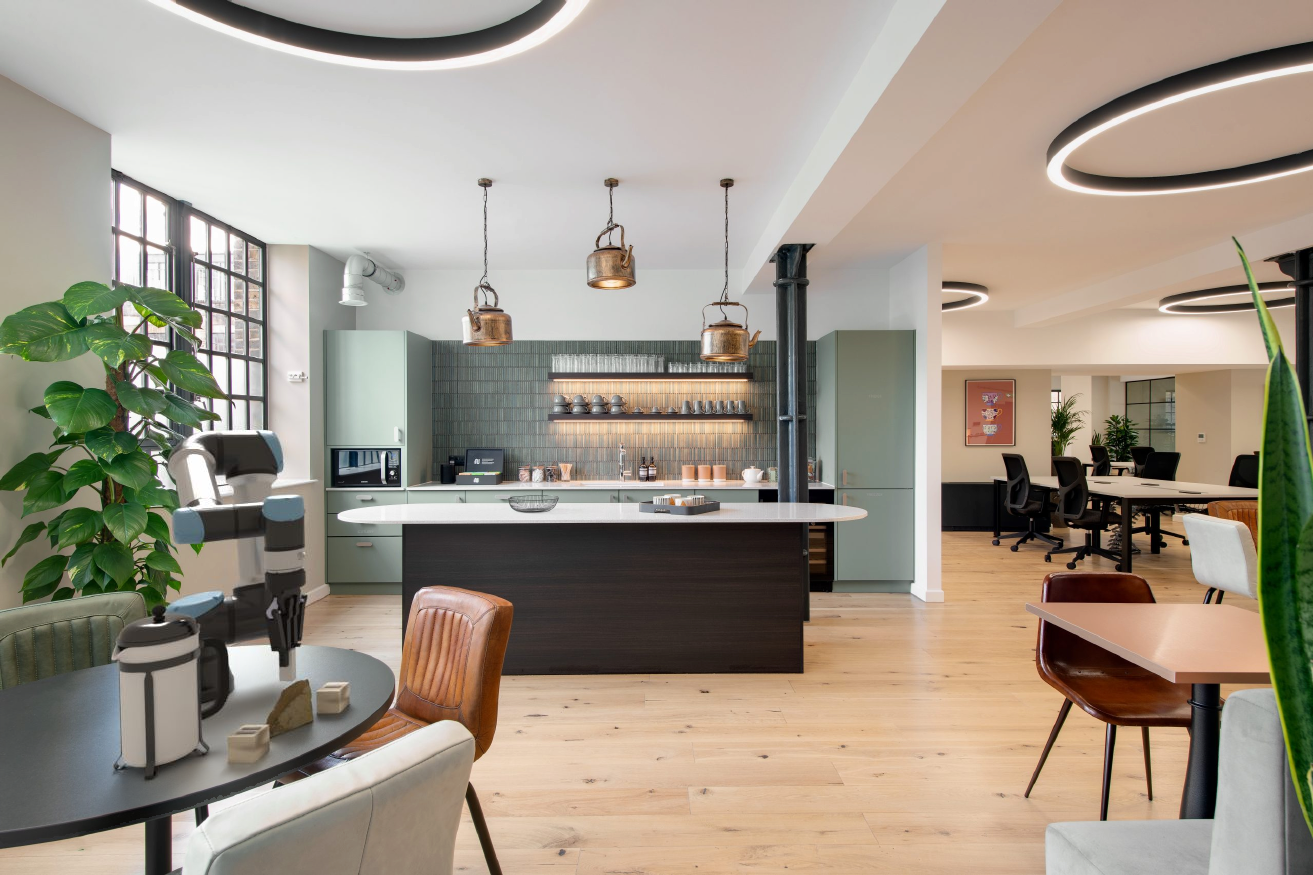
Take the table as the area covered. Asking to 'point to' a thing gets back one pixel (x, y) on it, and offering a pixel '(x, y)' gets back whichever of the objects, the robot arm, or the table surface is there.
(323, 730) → the table surface
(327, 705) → the birch block
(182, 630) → the coffee press
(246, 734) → the birch block
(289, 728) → the rock
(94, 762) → the table surface
